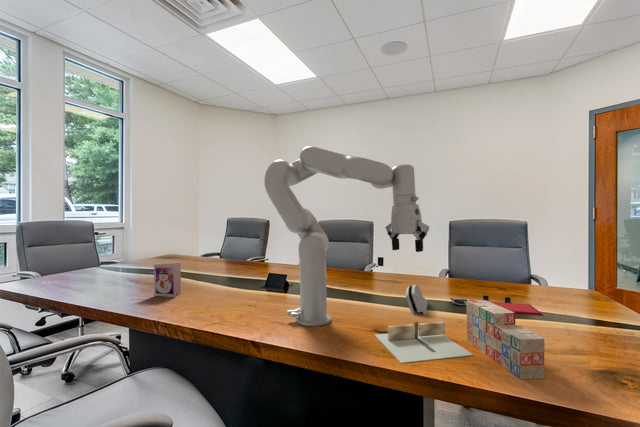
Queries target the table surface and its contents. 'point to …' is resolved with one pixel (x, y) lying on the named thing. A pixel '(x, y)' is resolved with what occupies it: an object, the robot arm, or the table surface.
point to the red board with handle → (506, 306)
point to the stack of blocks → (505, 339)
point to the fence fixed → (403, 332)
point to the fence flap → (431, 329)
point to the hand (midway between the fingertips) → (407, 250)
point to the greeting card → (167, 279)
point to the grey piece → (416, 299)
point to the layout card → (423, 348)
